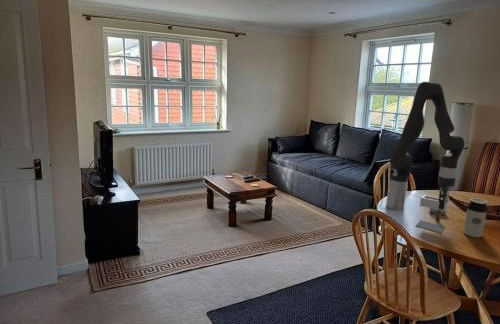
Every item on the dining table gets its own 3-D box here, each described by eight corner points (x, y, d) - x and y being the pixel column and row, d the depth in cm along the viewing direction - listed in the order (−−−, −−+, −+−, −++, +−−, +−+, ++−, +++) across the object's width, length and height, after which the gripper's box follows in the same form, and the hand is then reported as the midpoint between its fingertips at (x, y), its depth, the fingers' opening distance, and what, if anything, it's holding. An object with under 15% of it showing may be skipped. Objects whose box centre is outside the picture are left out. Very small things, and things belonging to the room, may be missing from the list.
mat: (415, 226, 189) (415, 225, 189) (420, 220, 197) (420, 220, 197) (440, 232, 182) (440, 232, 182) (444, 226, 189) (445, 226, 189)
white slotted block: (419, 205, 188) (420, 197, 187) (422, 203, 192) (423, 195, 191) (445, 211, 181) (446, 202, 180) (447, 208, 185) (449, 200, 184)
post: (435, 220, 198) (437, 205, 196) (435, 219, 199) (438, 204, 197) (439, 221, 196) (441, 206, 194) (439, 220, 198) (442, 205, 196)
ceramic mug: (445, 216, 204) (447, 203, 202) (429, 213, 208) (431, 201, 206) (445, 211, 213) (447, 198, 212) (429, 208, 217) (431, 196, 215)
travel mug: (464, 229, 187) (470, 196, 182) (482, 234, 182) (489, 200, 178) (461, 234, 181) (468, 200, 176) (480, 239, 176) (487, 204, 172)
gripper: (442, 171, 188) (437, 202, 192) (435, 177, 177) (430, 209, 181) (458, 174, 184) (453, 205, 187) (452, 179, 173) (447, 213, 176)
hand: (442, 207), depth 184 cm, fingers closed on white slotted block, 5 cm apart
